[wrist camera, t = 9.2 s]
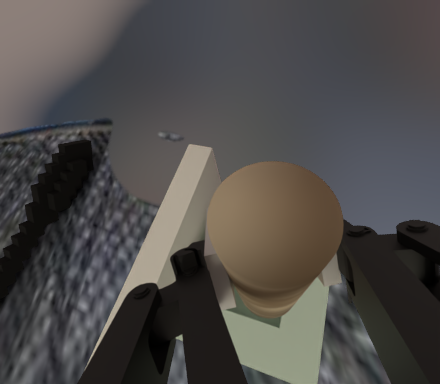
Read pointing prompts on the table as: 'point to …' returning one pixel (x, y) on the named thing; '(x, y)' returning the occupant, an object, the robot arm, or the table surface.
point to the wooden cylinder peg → (274, 233)
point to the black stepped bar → (46, 204)
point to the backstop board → (174, 223)
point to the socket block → (281, 337)
